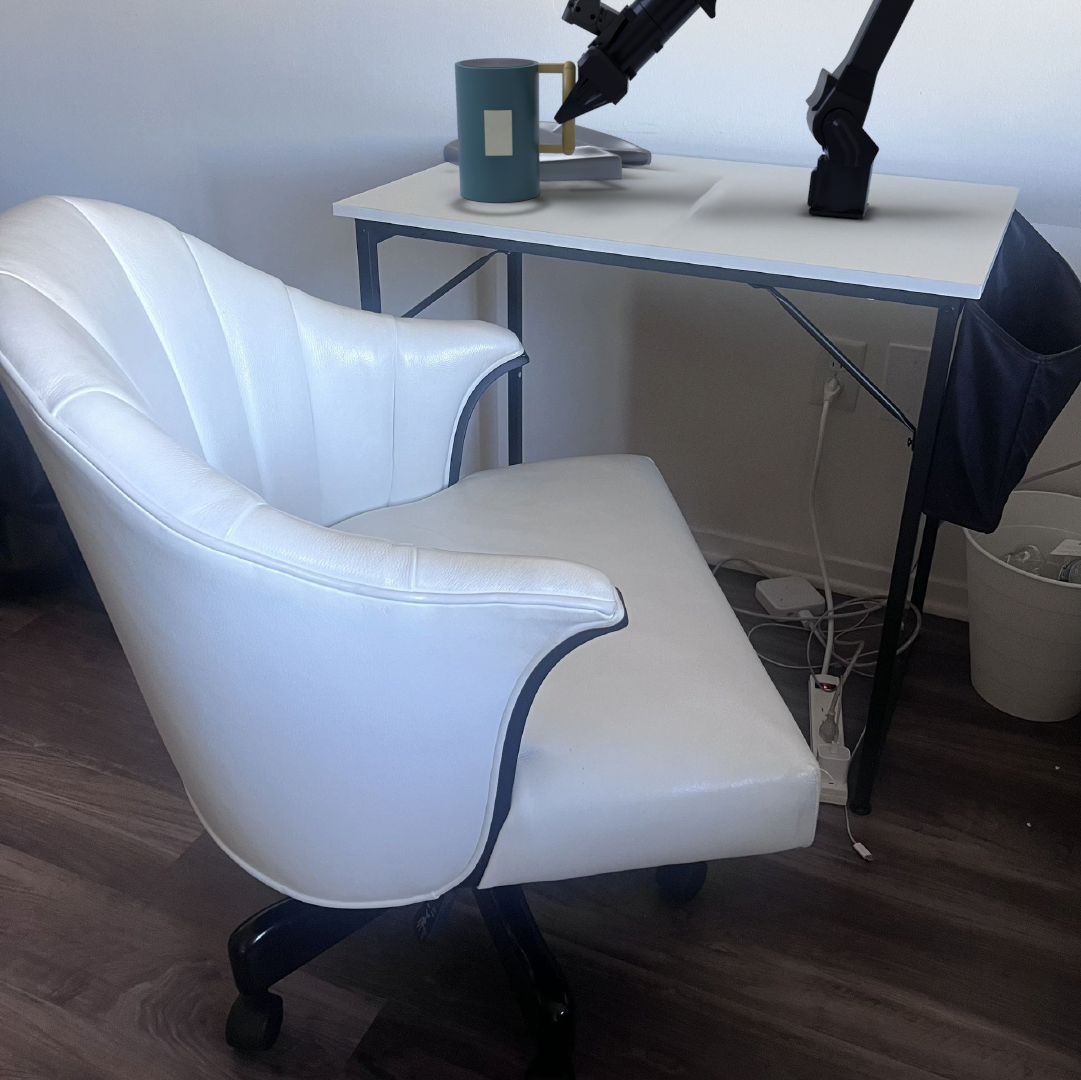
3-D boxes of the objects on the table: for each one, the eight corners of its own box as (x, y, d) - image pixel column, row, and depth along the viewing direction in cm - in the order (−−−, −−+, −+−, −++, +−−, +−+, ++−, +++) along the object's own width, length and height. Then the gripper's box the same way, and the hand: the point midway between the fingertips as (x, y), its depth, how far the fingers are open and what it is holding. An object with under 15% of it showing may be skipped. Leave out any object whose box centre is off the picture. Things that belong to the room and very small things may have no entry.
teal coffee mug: (581, 190, 131) (583, 58, 123) (552, 209, 123) (552, 68, 115) (480, 181, 136) (475, 53, 128) (445, 199, 128) (438, 63, 120)
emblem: (676, 123, 149) (594, 158, 128) (674, 162, 152) (593, 202, 131) (507, 109, 161) (406, 139, 140) (508, 145, 163) (409, 180, 142)
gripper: (609, -42, 124) (519, 58, 130) (599, -35, 108) (497, 78, 115) (672, 31, 127) (581, 125, 134) (671, 48, 111) (568, 154, 118)
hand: (557, 119), depth 125 cm, fingers closed on teal coffee mug, 2 cm apart
